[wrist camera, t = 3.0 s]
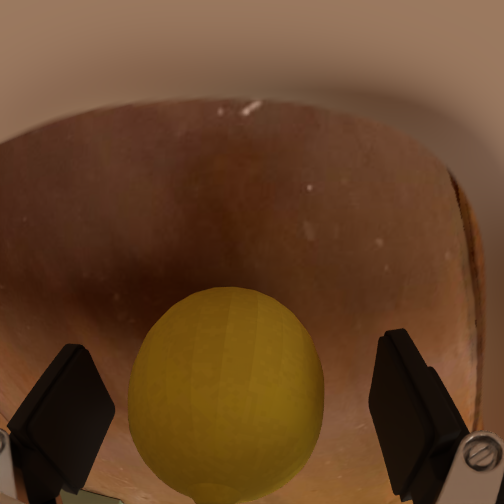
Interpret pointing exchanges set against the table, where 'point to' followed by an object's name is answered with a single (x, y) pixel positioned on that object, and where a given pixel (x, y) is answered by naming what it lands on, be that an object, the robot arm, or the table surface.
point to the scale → (86, 498)
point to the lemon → (226, 396)
